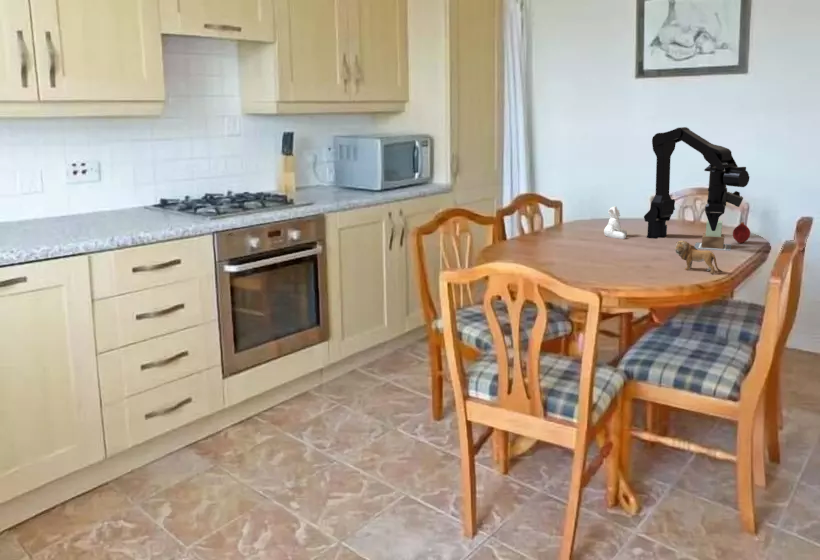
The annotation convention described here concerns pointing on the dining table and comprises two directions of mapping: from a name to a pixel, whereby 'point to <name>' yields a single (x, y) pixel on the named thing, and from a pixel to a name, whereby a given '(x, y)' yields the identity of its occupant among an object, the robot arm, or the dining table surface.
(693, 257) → the lion figurine
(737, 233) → the onion
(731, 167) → the robot arm
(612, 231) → the white creature statuette
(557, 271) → the dining table surface
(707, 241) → the walnut base
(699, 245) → the blueprint mat
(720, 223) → the sage block
